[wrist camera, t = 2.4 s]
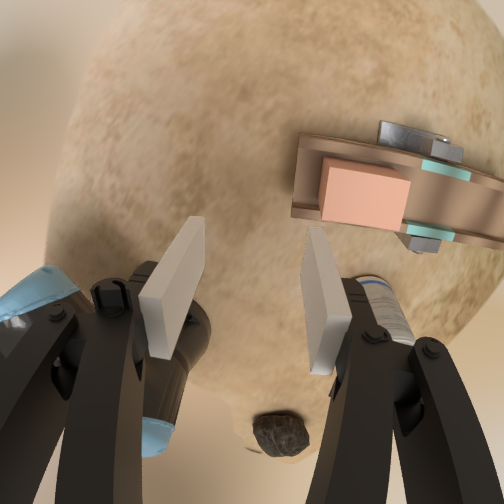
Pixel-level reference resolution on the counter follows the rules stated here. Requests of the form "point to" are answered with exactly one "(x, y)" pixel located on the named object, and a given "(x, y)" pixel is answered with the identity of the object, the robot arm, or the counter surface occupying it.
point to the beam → (412, 191)
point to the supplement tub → (387, 309)
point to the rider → (362, 193)
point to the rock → (281, 435)
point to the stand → (421, 145)
